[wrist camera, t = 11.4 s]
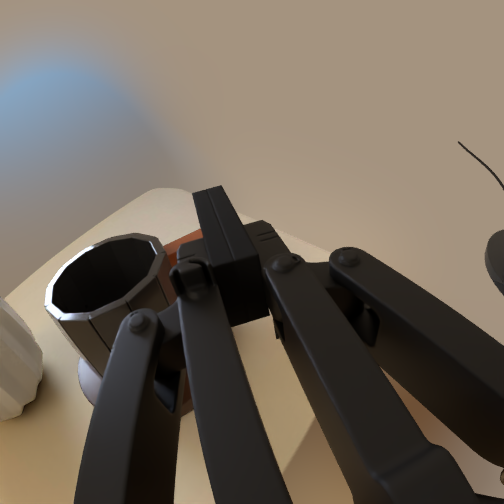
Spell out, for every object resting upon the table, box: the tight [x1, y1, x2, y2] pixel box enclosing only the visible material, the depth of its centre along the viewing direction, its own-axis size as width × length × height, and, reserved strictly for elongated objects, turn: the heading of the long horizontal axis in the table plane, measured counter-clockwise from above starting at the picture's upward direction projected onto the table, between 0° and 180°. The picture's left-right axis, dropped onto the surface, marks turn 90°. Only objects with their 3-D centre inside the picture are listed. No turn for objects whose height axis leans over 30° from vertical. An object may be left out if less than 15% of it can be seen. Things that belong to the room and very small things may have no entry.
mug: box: [45, 229, 203, 381], centre depth 24 cm, size 12×15×10 cm
